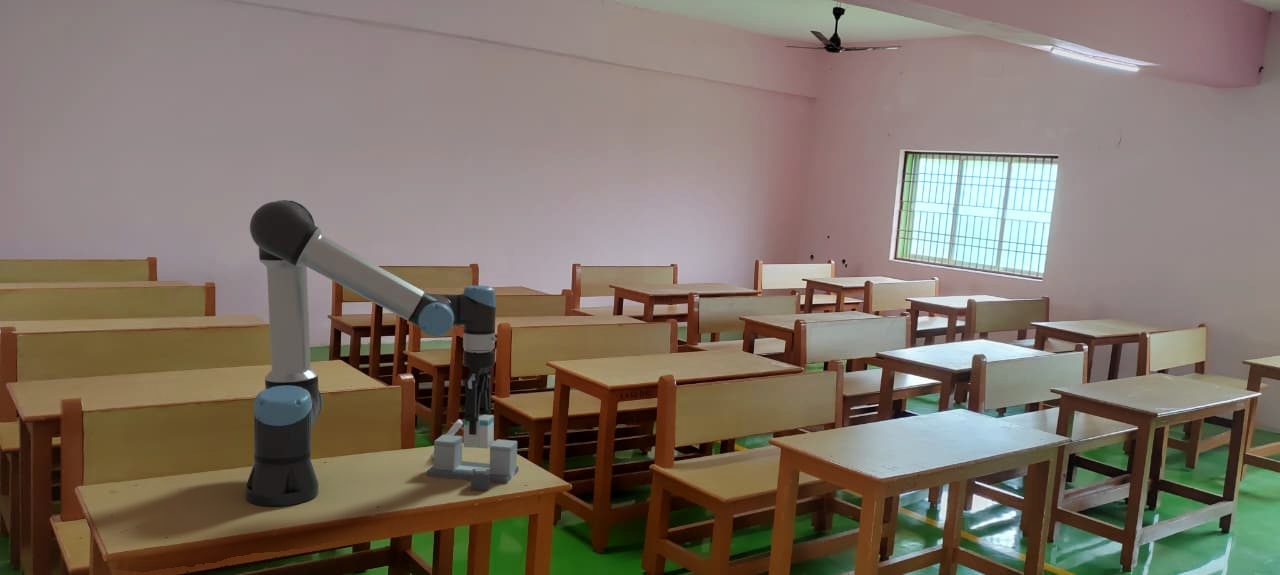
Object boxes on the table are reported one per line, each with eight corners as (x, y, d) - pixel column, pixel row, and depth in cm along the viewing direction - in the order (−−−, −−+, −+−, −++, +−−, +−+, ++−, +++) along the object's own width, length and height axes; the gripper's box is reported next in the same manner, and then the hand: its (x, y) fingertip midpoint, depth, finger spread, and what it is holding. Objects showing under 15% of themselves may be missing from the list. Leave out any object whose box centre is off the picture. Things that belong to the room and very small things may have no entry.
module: (463, 447, 224) (463, 418, 224) (470, 441, 229) (470, 413, 229) (487, 448, 224) (487, 420, 223) (493, 442, 229) (493, 415, 228)
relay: (470, 491, 215) (471, 471, 214) (472, 485, 219) (472, 466, 218) (488, 491, 215) (488, 472, 215) (489, 485, 219) (489, 466, 219)
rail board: (426, 475, 224) (427, 442, 223) (441, 463, 234) (442, 432, 233) (507, 483, 221) (508, 449, 220) (518, 471, 231) (519, 438, 230)
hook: (481, 441, 238) (459, 427, 235) (452, 475, 239) (430, 462, 236) (478, 427, 244) (457, 414, 242) (450, 461, 246) (428, 448, 243)
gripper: (482, 357, 215) (480, 455, 217) (504, 344, 232) (502, 435, 235) (451, 355, 216) (449, 452, 218) (475, 342, 233) (474, 432, 236)
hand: (477, 443), depth 227 cm, fingers closed on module, 5 cm apart
